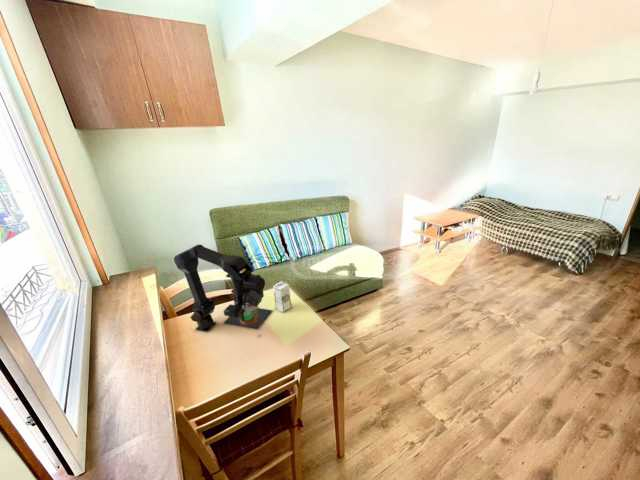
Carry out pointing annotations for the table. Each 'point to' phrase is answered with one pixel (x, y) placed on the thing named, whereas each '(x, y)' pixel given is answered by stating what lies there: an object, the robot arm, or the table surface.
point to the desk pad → (262, 316)
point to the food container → (249, 314)
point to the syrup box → (282, 296)
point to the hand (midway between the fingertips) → (246, 316)
